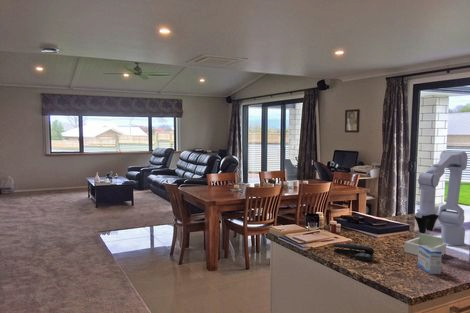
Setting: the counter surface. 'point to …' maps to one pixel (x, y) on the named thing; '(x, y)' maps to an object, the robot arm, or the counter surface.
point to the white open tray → (413, 247)
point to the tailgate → (430, 240)
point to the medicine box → (429, 259)
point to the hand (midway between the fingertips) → (425, 231)
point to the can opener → (358, 254)
